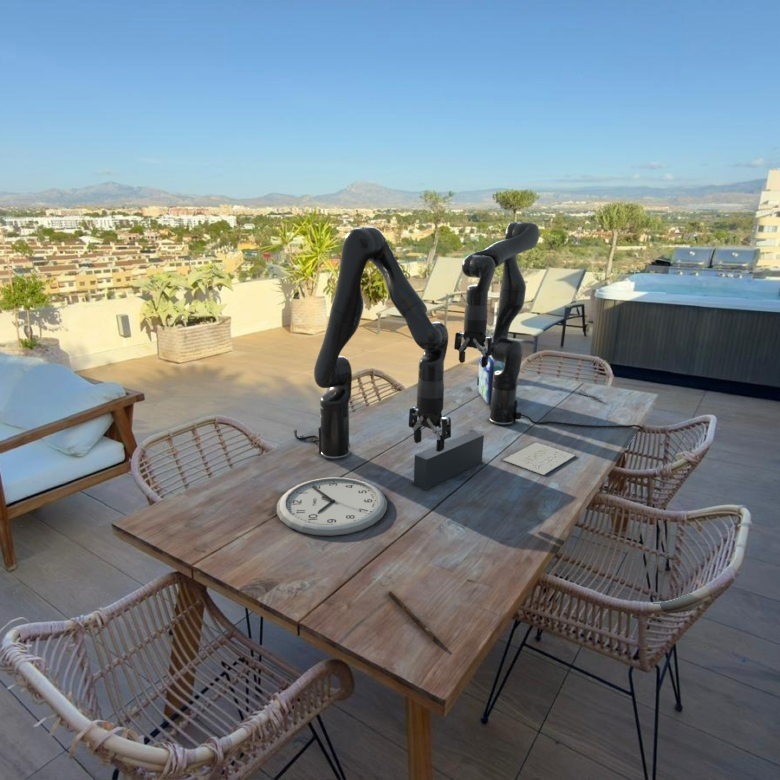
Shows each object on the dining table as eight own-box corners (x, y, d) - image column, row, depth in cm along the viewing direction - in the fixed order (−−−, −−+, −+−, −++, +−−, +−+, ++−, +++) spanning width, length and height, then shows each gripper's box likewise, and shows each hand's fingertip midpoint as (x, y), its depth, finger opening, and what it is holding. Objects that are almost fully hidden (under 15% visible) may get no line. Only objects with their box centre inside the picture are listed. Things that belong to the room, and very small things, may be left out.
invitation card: (535, 442, 186) (575, 454, 176) (535, 442, 187) (575, 455, 176) (502, 459, 172) (543, 474, 162) (502, 460, 172) (543, 475, 162)
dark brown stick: (388, 595, 108) (388, 591, 108) (390, 594, 108) (390, 590, 108) (433, 641, 96) (433, 637, 96) (435, 640, 96) (435, 636, 96)
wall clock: (392, 527, 129) (268, 531, 127) (391, 533, 130) (269, 537, 127) (383, 473, 158) (282, 475, 155) (383, 478, 158) (282, 480, 156)
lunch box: (475, 390, 246) (478, 346, 240) (498, 390, 246) (501, 347, 240) (484, 408, 221) (487, 360, 215) (509, 409, 221) (513, 360, 215)
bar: (470, 457, 174) (472, 431, 171) (482, 462, 171) (484, 435, 168) (413, 483, 156) (414, 454, 153) (425, 489, 152) (426, 459, 150)
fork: (599, 403, 231) (599, 398, 230) (577, 392, 245) (578, 388, 245) (604, 402, 231) (604, 398, 231) (582, 392, 246) (583, 387, 245)
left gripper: (403, 390, 150) (402, 443, 155) (440, 402, 140) (438, 457, 145) (420, 385, 155) (419, 436, 160) (458, 396, 145) (455, 450, 150)
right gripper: (451, 316, 175) (449, 363, 180) (488, 321, 166) (485, 370, 171) (463, 313, 181) (461, 359, 186) (500, 318, 172) (496, 366, 177)
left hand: (428, 446), depth 152 cm, fingers open, 8 cm apart
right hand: (472, 364), depth 178 cm, fingers open, 8 cm apart
